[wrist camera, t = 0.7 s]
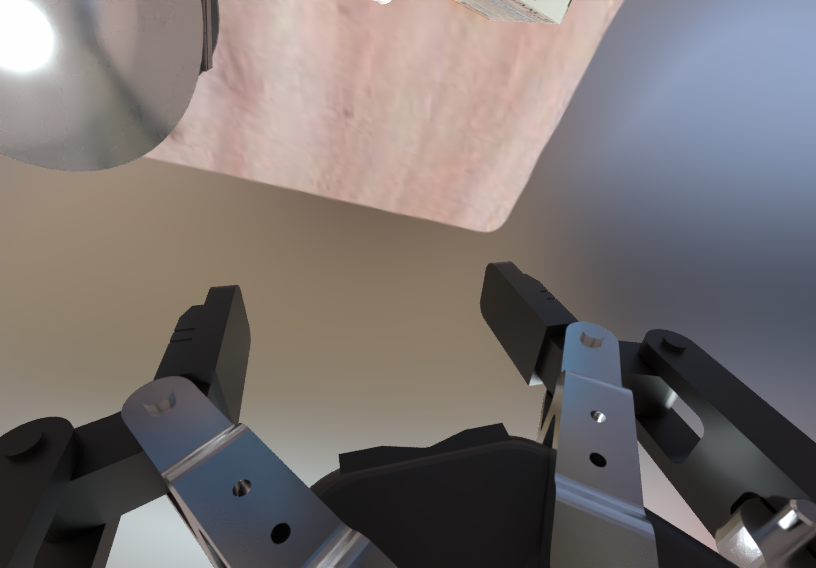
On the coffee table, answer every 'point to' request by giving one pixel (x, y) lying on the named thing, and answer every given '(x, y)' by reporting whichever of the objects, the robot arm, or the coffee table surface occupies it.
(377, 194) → the coffee table surface
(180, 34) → the cooker lid
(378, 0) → the white bone
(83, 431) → the robot arm
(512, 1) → the supplement box
